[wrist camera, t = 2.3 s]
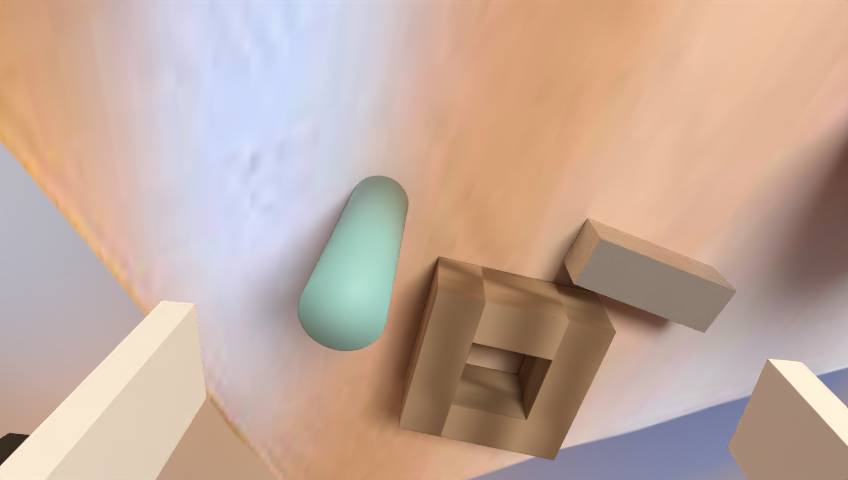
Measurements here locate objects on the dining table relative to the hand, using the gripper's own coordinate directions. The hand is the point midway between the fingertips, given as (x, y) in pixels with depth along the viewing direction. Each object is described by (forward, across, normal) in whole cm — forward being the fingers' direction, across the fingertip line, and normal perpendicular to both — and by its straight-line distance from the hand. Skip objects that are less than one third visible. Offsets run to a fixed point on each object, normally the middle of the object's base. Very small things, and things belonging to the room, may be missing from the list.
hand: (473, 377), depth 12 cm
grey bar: (+24, +14, -8) cm, 29 cm away
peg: (+24, -5, -5) cm, 25 cm away
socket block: (+24, +5, -15) cm, 29 cm away
